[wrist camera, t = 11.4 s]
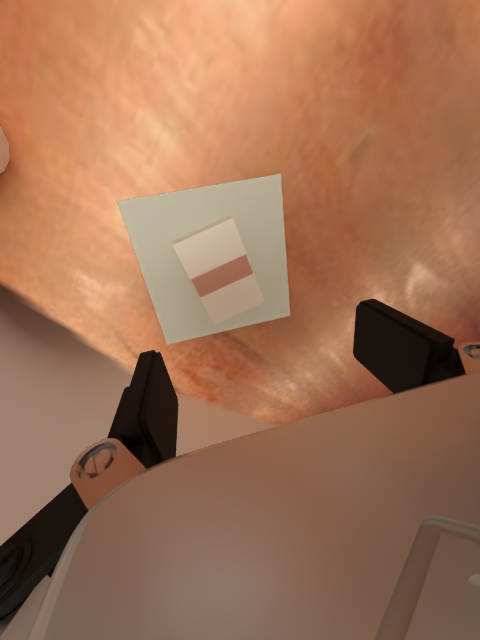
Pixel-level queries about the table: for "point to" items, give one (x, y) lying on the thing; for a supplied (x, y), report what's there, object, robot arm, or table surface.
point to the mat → (192, 214)
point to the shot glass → (3, 151)
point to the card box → (219, 269)
